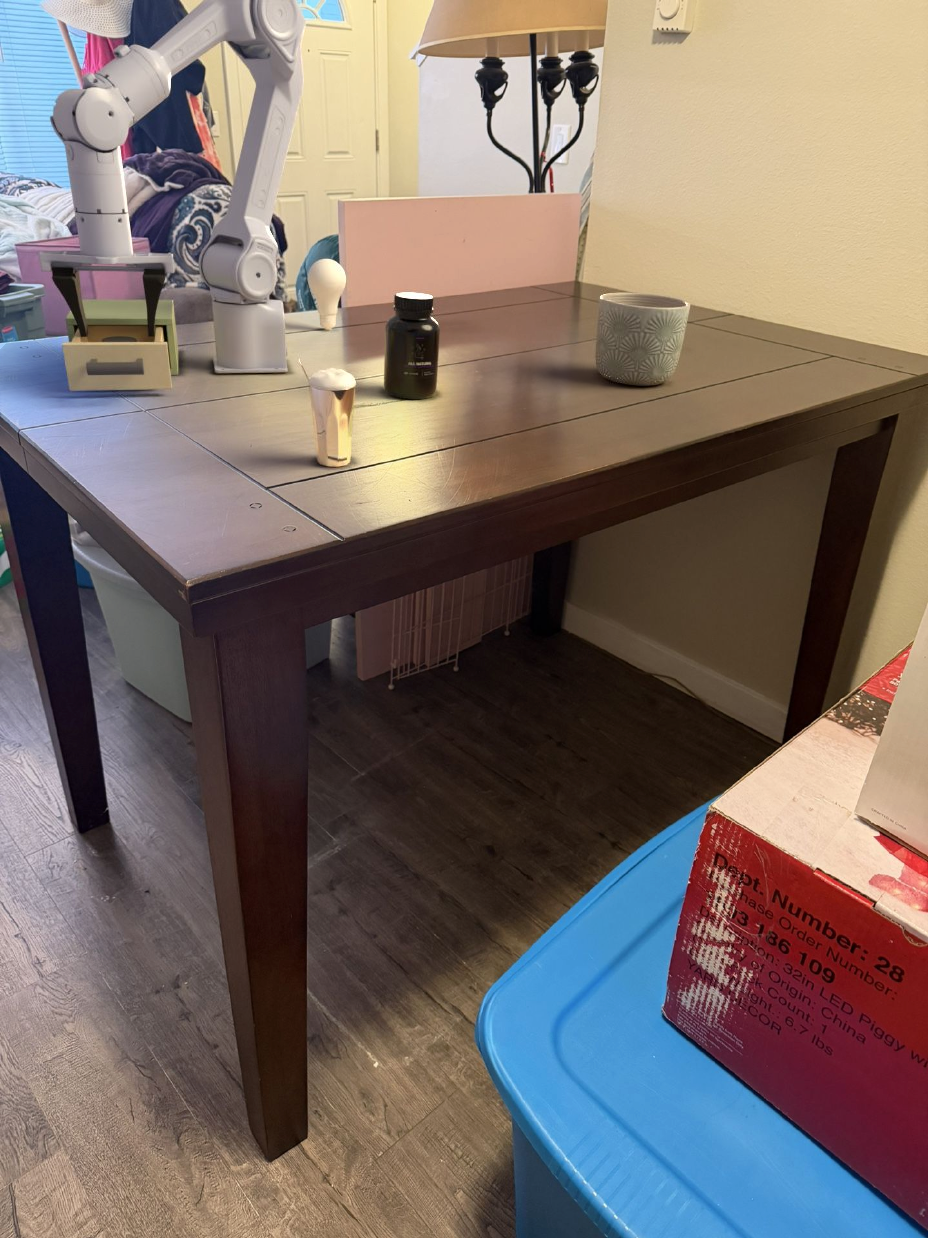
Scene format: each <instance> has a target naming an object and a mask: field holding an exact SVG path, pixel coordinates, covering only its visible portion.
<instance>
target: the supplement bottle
mask: <svg viewBox="0 0 928 1238" xmlns="http://www.w3.org/2000/svg"><path fill="white" fill-rule="evenodd" d="M393 297H394V299H393V306H392V309H393V311H394V312H395V314H394V315H393V316H391V317H389V318H388V319H387V321H386V322H385V328H384V362H383V364H384V365H383V366H384V367H383V368H384V369H383V390H384V391H385V393H386V394H387V395H389V396H392V397H393V398H399V399H405V400H424V399H429V398H432V397H434V396H435V395H436V393H437V387H438V372H439V353H440V352H439V351H440V336H441V335H440V334H441V328H440V325H439V323H438V322H437V321H436V319H434V318H433V317H432V314H433V313H434V297H433V296H432V295H430V294H427V293H419V292H418V293H417V292H399V293H395V294H394V296H393Z"/></svg>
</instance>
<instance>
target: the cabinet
mask: <svg viewBox="0 0 928 1238" xmlns="http://www.w3.org/2000/svg"><path fill="white" fill-rule="evenodd" d="M82 303H83V308H84V312H85V316H86V321H87V325H147V306H146V299H109V298H108V299H105V298H104V299H103V298H102V299H99V298H98V299H95V298H94V299H93V298H82ZM64 321H65V325H66V332H67V338H68V342H71V341H72V339H73V337H74V335H75V333H76V331H77V329H78V326H77V323H76V321H75V318H74V316H73V314H72V312H71V310H70V309H69V311H68V313H67V314H66V317H65V319H64ZM155 325H163V332H164V341H165V342H167V346H168V355H169V364H170V374H171V376H178V375H179V345H178V344H179V343H178V336H177V335H178V333H177V326H176V325H177V324H176V314H175V307H174V299H159V301H158V305H157V310H156V316H155Z"/></svg>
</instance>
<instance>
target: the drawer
mask: <svg viewBox="0 0 928 1238" xmlns="http://www.w3.org/2000/svg"><path fill="white" fill-rule="evenodd" d="M87 326H88V335H87V337H81V336H80V332H79V329H77V331H76V333H75V335H74V337H73V339H72V341H71V342H69V341H67V342H66V341H64V342H62V344H61V348H62V354H63V359H64V365H65V371H66V378H67V383H68V389H69V391H70V392H75V391H76V392H84V391H86V392H87V391H137V390H138V391H139V390H141V391H142V390H144V391H145V390H172V389H173V384H172V383H173V382H172V375H171V374H170V364H169V355H168V346H167V342H165V341H164V332H163V325H155V336H154V337H149V335H148V326H147V325H87ZM116 336H125V337H133V338H136V339H137V341H139V342H101V341H102V339H104V338H107V337H116Z"/></svg>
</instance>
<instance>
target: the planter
mask: <svg viewBox="0 0 928 1238" xmlns="http://www.w3.org/2000/svg"><path fill="white" fill-rule="evenodd" d="M598 304H599V305H598V312H597V313H598V315H597V326H596V337H595V365H596V369H597V371H598V373H599V374H600V375H601V376H602V377H603V378H605V379H606V380H609V381H611V382H614V383H618V384H622V385H629V386H640V387H641V386H643V387H645V386H646V387H649V386H657V385H661V384H664V383H666V382H668V380H670V379H671V378H672V377H673V375H674V374H675V372H676V369H677V366H678V363H679V359H680V356H681V353H682V347H683V344H684V339H685V334H686V330H687V324H688V321H689V314H690V310H691V309H690V308H691V303H690V302H689V301H687V300H684V299H681V298H678V297H672V296H667V295H661V294H654V293H644V292H643V293H642V292H610V293H604V294H601V295H600V297H599V303H598ZM600 372H601V373H600ZM604 374H605V375H604ZM606 375H607V376H606ZM609 376H610V377H609ZM617 378H618V379H617ZM669 378H670V379H669ZM666 379H668V380H666ZM661 380H664V381H661ZM655 381H656V382H655Z"/></svg>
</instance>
